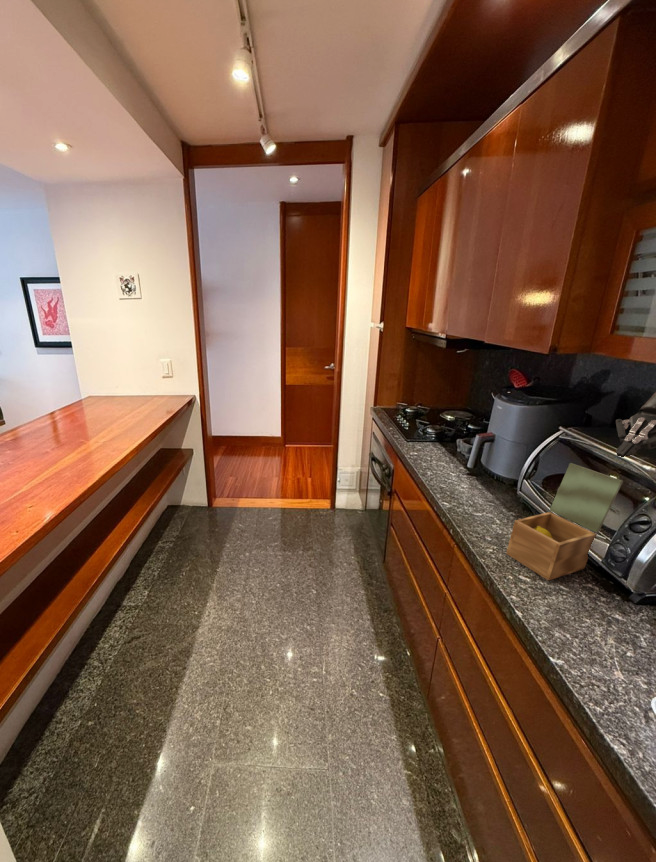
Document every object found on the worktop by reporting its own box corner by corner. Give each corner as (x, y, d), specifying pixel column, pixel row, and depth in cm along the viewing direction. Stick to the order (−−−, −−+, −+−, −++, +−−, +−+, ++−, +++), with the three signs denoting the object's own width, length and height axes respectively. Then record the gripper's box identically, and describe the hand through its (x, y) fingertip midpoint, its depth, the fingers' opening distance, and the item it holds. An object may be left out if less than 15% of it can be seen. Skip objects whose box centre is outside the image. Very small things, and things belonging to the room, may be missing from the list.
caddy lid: (621, 480, 87) (623, 480, 88) (569, 462, 98) (571, 463, 98) (596, 532, 92) (598, 532, 92) (549, 510, 102) (551, 510, 102)
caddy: (548, 581, 92) (560, 544, 88) (505, 554, 102) (514, 520, 98) (584, 569, 96) (597, 534, 92) (539, 544, 106) (549, 511, 102)
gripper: (708, 419, 89) (656, 475, 90) (641, 406, 101) (595, 456, 102) (704, 398, 86) (650, 457, 86) (635, 387, 97) (587, 439, 98)
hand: (620, 456), depth 94 cm, fingers closed
